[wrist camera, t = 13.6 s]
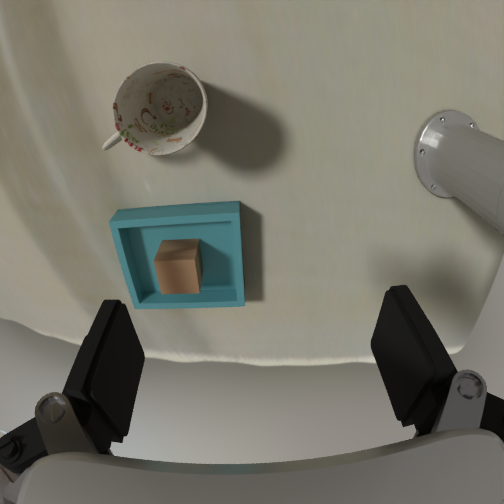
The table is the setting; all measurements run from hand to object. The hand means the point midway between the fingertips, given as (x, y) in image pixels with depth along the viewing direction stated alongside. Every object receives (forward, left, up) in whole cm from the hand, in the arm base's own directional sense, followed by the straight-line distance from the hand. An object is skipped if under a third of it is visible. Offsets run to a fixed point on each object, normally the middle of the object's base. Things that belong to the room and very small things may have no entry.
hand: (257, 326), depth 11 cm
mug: (+9, -5, -28) cm, 30 cm away
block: (+9, +14, -28) cm, 32 cm away
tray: (+9, +14, -28) cm, 33 cm away
